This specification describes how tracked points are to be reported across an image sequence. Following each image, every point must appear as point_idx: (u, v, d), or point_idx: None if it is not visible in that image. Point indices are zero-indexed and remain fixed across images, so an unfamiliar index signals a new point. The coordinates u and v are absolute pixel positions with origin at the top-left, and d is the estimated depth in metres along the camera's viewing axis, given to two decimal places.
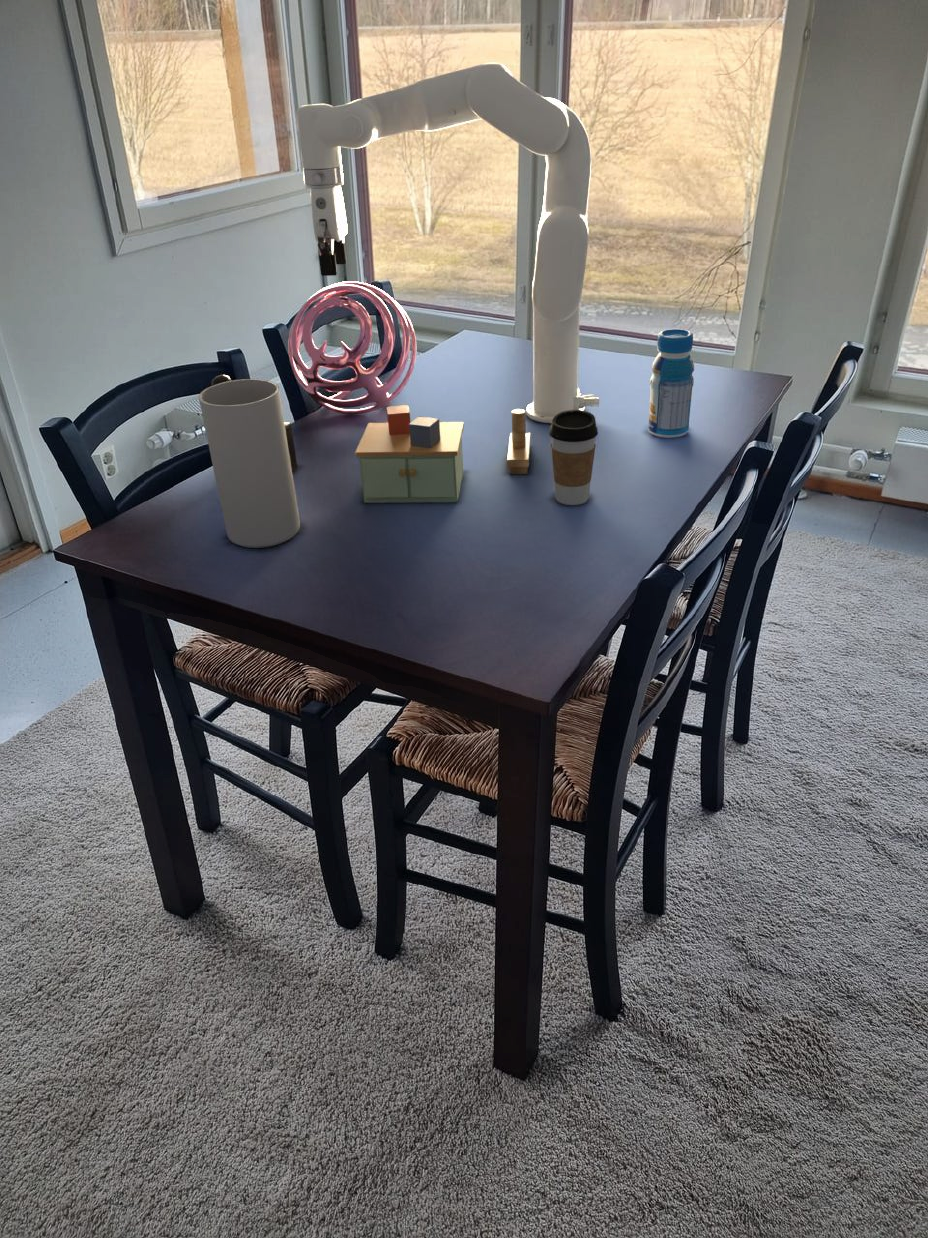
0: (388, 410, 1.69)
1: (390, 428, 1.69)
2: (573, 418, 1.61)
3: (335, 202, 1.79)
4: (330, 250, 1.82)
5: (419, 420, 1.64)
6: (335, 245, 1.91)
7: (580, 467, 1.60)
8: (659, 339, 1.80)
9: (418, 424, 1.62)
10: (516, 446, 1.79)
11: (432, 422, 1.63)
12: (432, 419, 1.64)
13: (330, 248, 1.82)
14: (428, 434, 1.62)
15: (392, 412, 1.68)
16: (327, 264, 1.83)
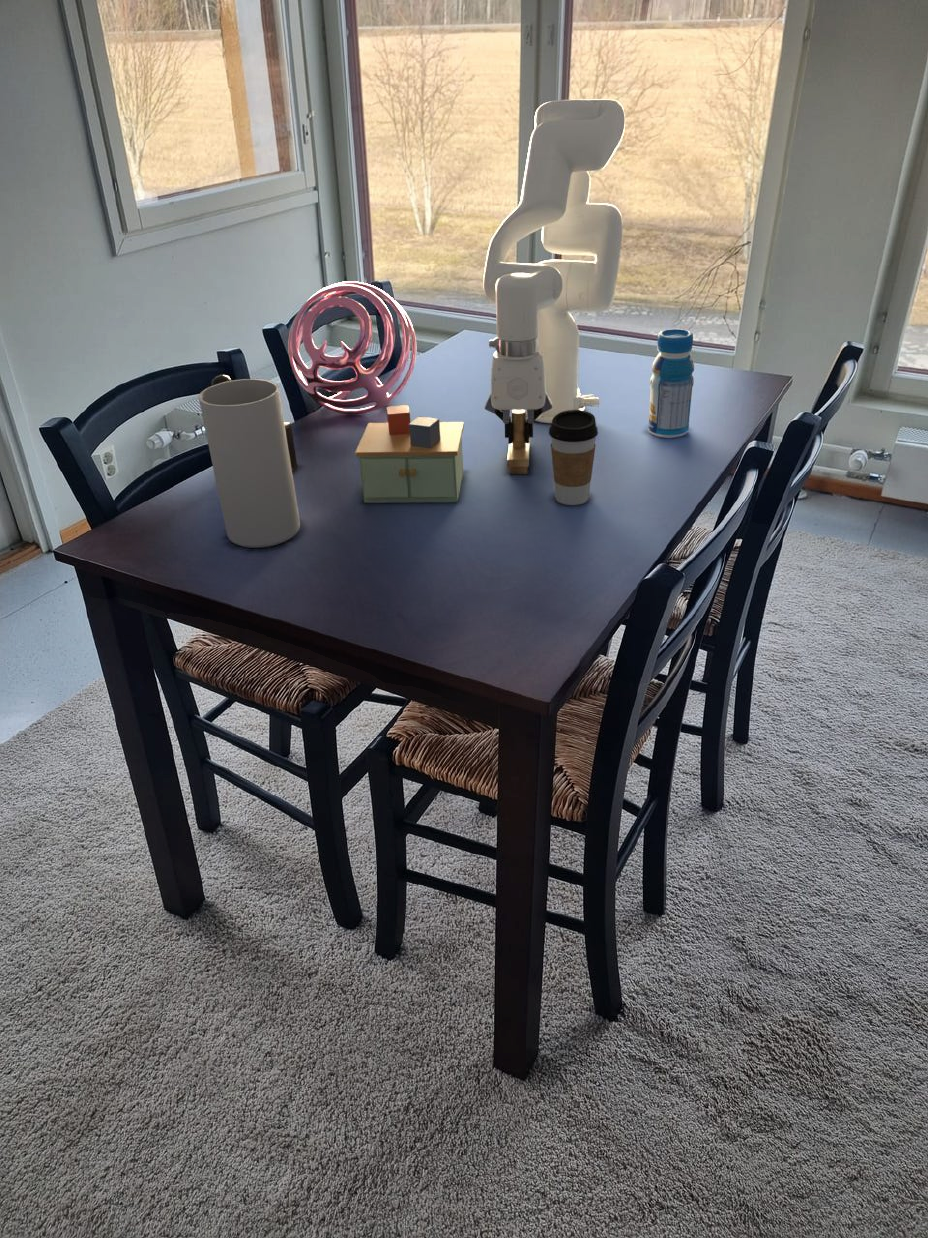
0: (388, 410, 1.69)
1: (390, 428, 1.69)
2: (573, 418, 1.61)
3: (499, 372, 1.70)
4: (503, 420, 1.77)
5: (419, 420, 1.64)
6: (525, 422, 1.78)
7: (580, 467, 1.60)
8: (659, 339, 1.80)
9: (418, 424, 1.62)
10: (516, 446, 1.79)
11: (432, 422, 1.63)
12: (432, 419, 1.64)
13: (502, 418, 1.77)
14: (428, 434, 1.62)
15: (392, 412, 1.68)
16: None
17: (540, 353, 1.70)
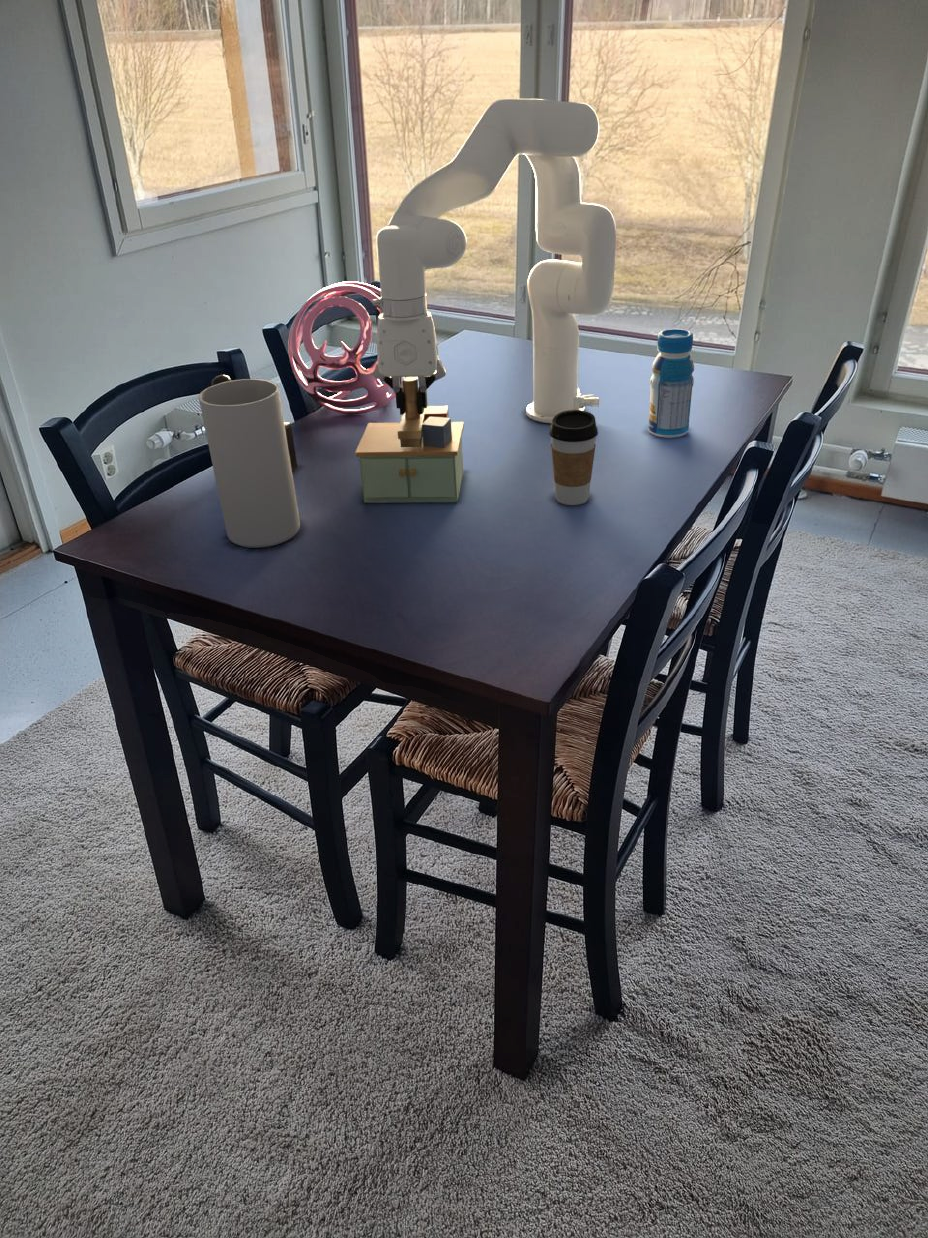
0: (426, 410, 1.68)
1: None
2: (573, 418, 1.61)
3: (384, 335, 1.56)
4: (393, 389, 1.63)
5: (431, 420, 1.64)
6: None
7: (580, 467, 1.60)
8: (659, 339, 1.80)
9: (431, 424, 1.62)
10: (409, 417, 1.65)
11: (445, 422, 1.63)
12: (444, 418, 1.64)
13: (393, 387, 1.62)
14: (442, 434, 1.62)
15: (429, 412, 1.67)
16: None
17: (429, 314, 1.56)
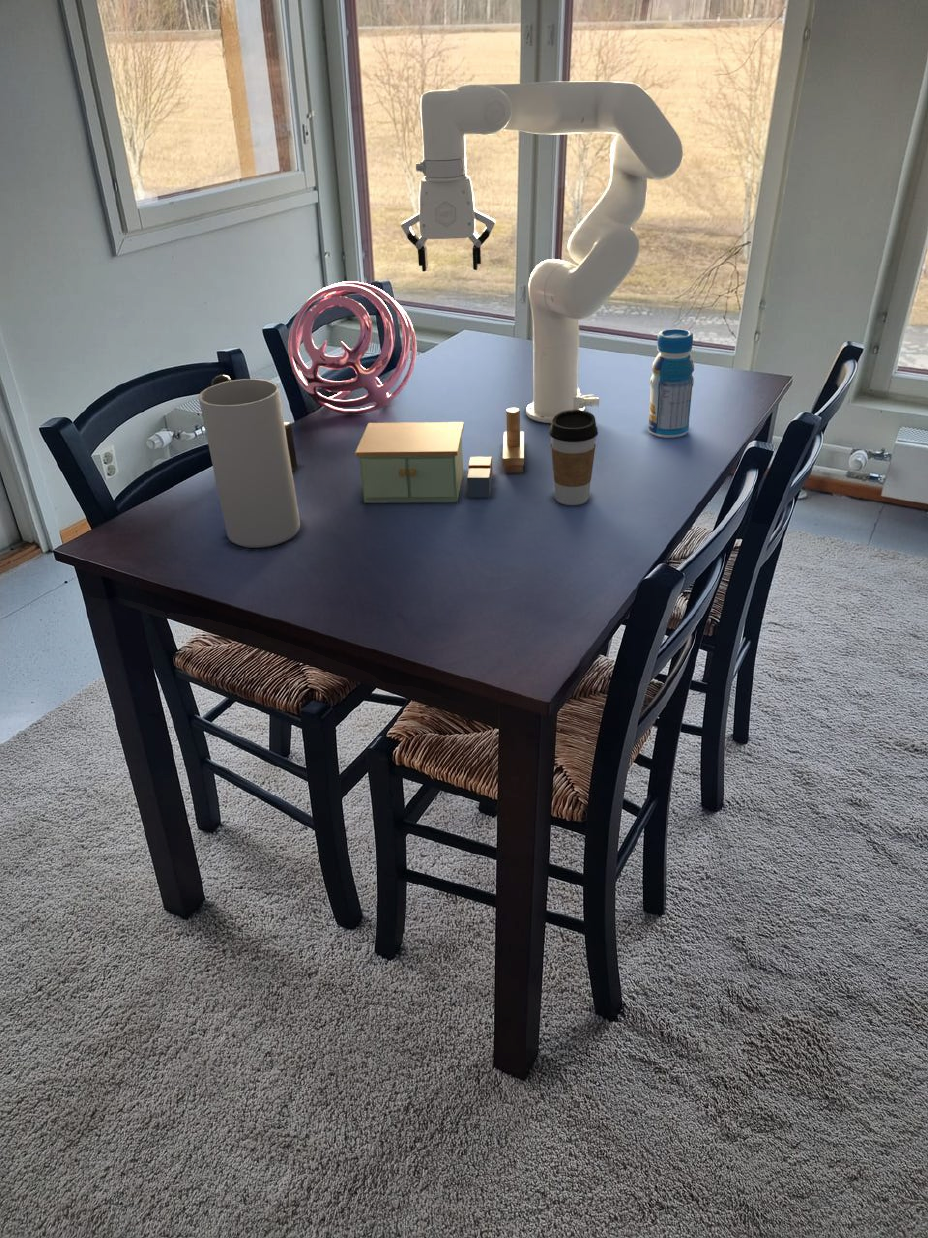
0: (490, 462, 1.73)
1: (475, 466, 1.71)
2: (573, 418, 1.61)
3: (426, 196, 1.67)
4: (415, 243, 1.73)
5: (490, 477, 1.69)
6: (473, 247, 1.74)
7: (580, 467, 1.60)
8: (659, 339, 1.80)
9: (489, 486, 1.67)
10: (511, 445, 1.80)
11: (490, 491, 1.70)
12: (491, 484, 1.71)
13: (417, 242, 1.73)
14: (481, 496, 1.69)
15: None
16: None
17: (468, 177, 1.67)
